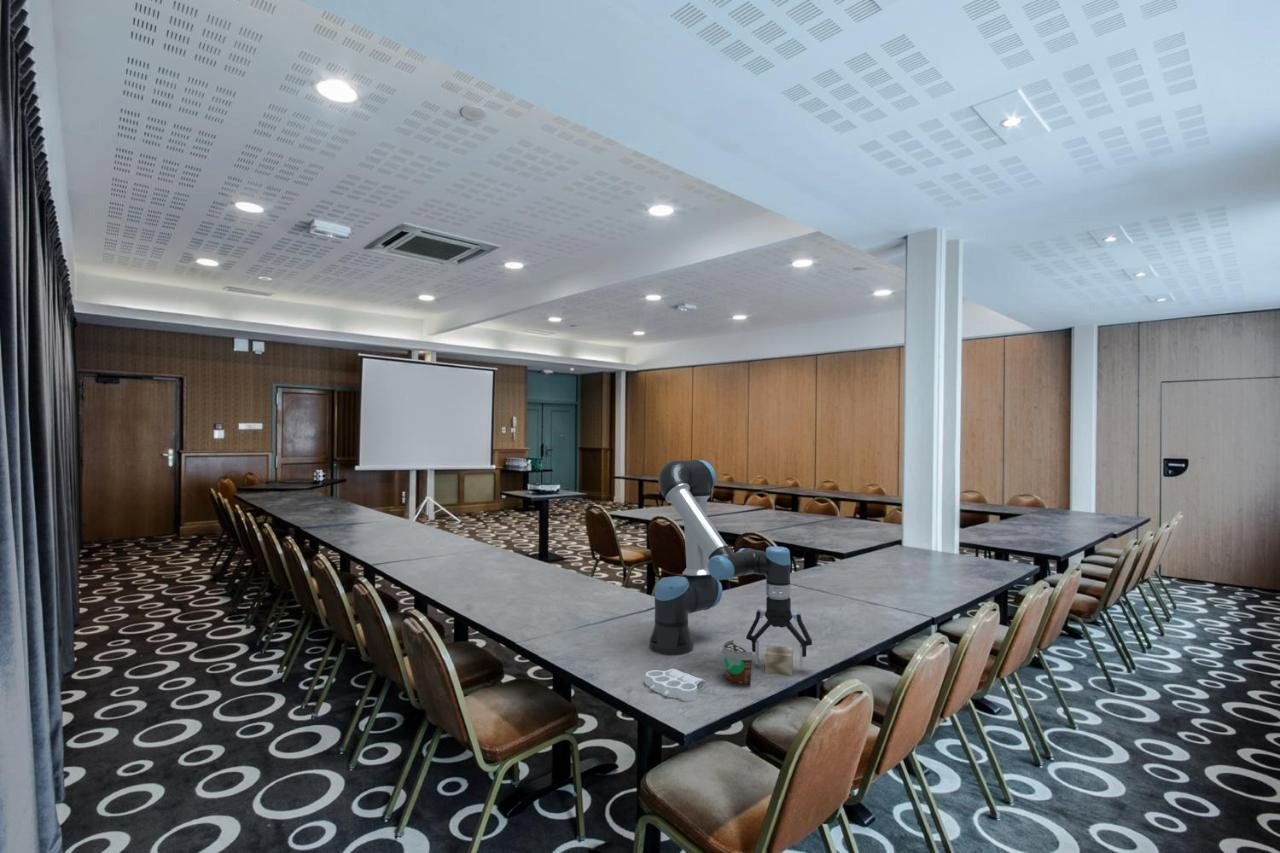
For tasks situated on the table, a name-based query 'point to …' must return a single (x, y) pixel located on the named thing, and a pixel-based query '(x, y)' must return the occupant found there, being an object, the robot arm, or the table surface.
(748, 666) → the food container
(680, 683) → the white brass knuckles
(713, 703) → the table surface
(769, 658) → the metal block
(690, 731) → the table surface
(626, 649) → the table surface
